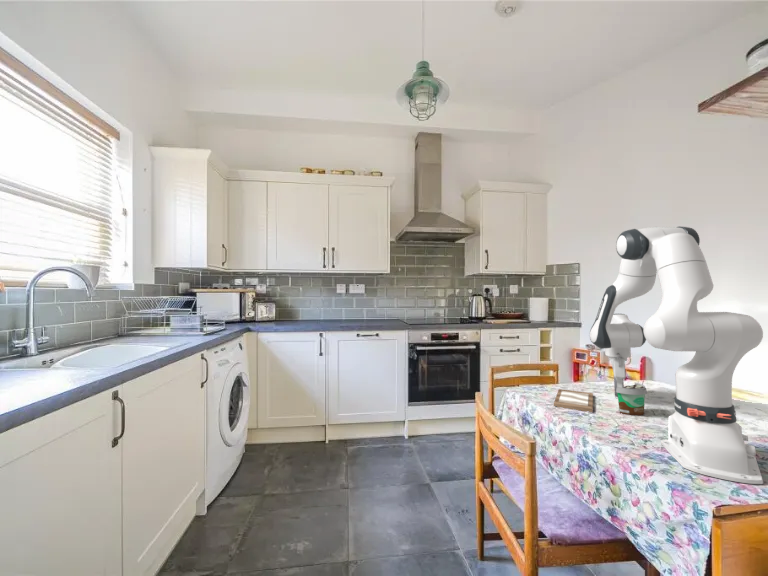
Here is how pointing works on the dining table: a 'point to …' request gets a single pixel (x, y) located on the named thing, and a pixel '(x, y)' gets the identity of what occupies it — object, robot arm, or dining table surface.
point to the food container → (631, 399)
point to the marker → (616, 387)
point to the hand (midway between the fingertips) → (619, 384)
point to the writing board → (574, 400)
